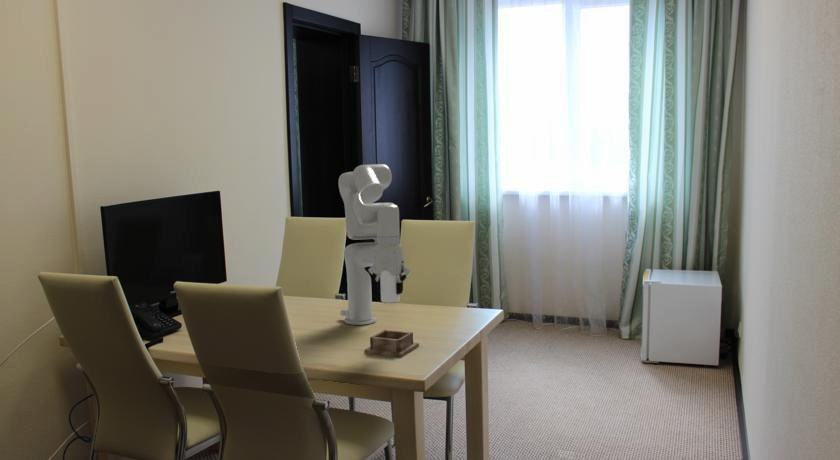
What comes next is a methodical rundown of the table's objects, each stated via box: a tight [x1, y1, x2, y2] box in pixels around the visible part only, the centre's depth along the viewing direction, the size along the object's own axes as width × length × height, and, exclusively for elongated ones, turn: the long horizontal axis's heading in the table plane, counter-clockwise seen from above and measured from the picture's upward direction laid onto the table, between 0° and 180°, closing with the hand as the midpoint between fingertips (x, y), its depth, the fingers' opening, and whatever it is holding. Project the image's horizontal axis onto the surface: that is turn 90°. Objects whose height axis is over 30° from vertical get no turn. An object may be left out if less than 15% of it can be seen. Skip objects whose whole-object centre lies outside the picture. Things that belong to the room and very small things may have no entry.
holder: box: [364, 329, 420, 358], centre depth 255 cm, size 14×14×5 cm
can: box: [380, 268, 401, 304], centre depth 253 cm, size 6×6×12 cm
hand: (390, 292), depth 253 cm, fingers closed on can, 6 cm apart
